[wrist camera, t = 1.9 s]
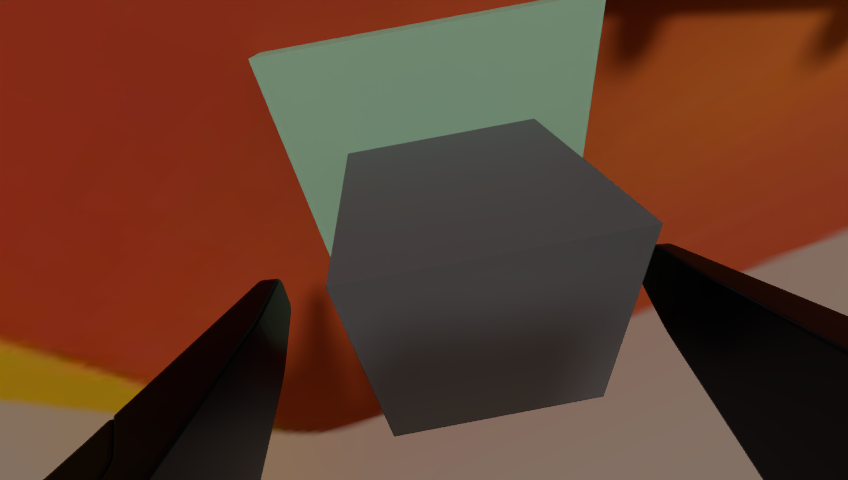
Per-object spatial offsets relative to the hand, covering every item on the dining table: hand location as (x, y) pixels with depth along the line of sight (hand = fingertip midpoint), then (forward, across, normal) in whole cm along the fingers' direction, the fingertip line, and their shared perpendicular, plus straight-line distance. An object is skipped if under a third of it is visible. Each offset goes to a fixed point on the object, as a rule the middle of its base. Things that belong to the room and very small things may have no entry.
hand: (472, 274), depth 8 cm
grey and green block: (+4, 0, 0) cm, 4 cm away
